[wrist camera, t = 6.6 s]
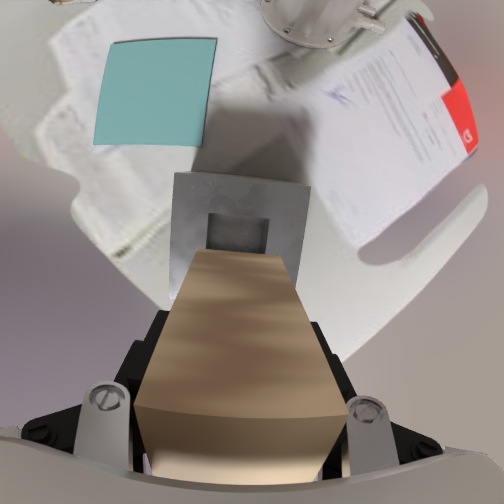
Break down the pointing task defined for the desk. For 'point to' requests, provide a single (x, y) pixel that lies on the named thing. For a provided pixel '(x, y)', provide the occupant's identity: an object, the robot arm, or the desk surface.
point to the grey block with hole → (235, 219)
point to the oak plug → (238, 379)
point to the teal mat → (155, 92)
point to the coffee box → (69, 1)
